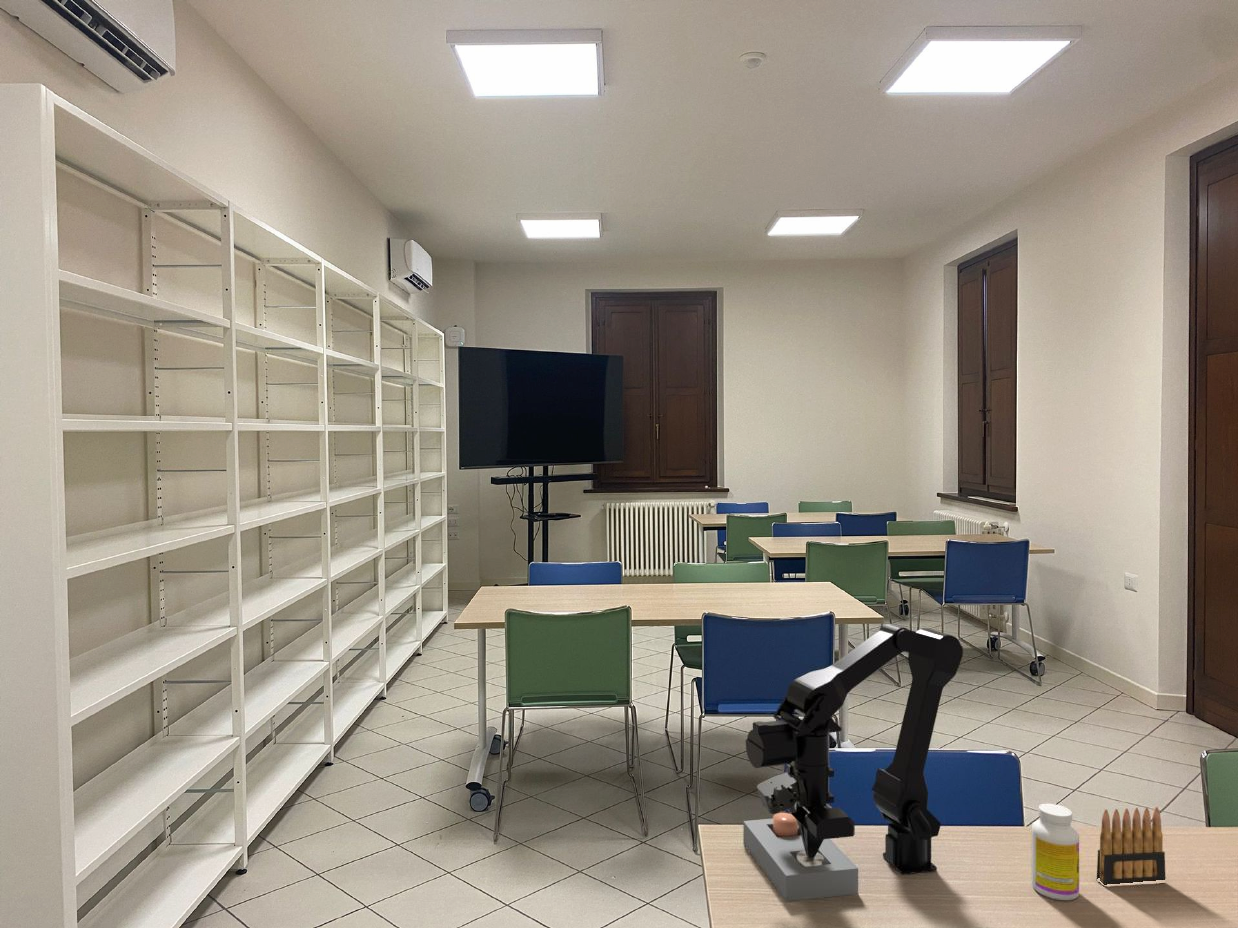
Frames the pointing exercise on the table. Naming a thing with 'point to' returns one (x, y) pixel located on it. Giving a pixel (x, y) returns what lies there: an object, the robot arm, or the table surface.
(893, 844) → the robot arm
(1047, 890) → the supplement bottle
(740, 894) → the table surface
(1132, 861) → the ammunition clip
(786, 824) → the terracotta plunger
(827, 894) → the panel
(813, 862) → the steel plunger
